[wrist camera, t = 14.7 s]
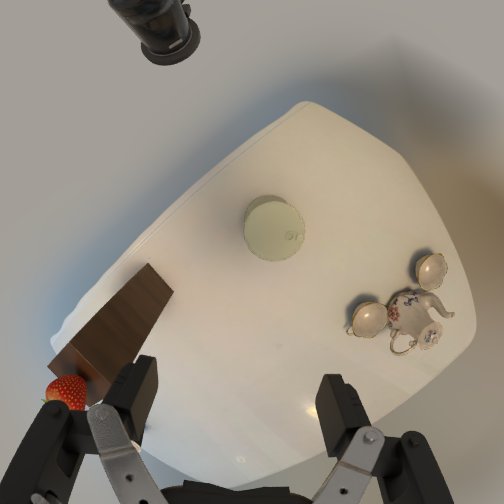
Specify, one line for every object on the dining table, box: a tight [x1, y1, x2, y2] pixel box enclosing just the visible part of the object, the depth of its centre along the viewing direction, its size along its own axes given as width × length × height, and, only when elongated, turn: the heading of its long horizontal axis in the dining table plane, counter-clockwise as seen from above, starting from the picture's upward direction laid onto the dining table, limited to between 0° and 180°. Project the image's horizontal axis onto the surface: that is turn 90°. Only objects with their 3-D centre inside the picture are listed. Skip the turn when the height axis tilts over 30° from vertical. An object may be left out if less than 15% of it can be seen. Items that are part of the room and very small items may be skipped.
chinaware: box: [346, 253, 455, 356], centre depth 50 cm, size 28×17×17 cm, turn 131°
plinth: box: [47, 264, 174, 407], centre depth 41 cm, size 8×8×30 cm
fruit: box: [43, 374, 87, 411], centre depth 23 cm, size 5×5×8 cm
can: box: [244, 195, 305, 261], centre depth 46 cm, size 9×9×12 cm
